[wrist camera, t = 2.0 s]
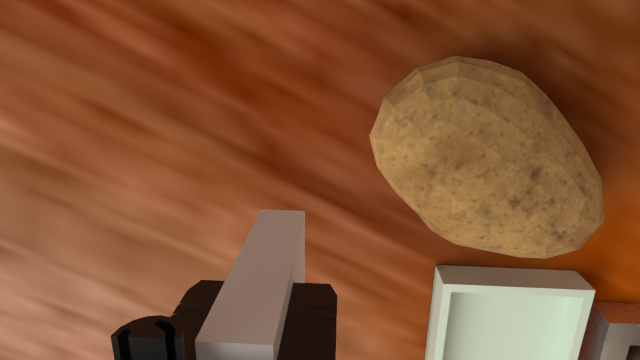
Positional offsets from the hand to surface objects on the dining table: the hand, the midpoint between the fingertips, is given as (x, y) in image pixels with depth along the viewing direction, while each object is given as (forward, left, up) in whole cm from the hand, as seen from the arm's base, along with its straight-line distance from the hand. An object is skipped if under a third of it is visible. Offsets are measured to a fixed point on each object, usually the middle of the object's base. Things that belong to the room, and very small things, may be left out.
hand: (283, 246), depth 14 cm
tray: (+15, +14, -15) cm, 25 cm away
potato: (0, +10, -15) cm, 18 cm away
